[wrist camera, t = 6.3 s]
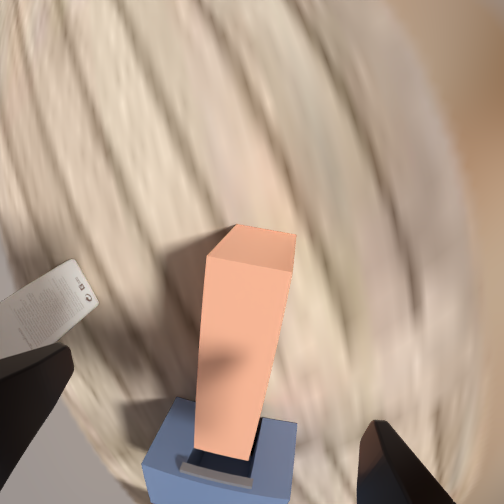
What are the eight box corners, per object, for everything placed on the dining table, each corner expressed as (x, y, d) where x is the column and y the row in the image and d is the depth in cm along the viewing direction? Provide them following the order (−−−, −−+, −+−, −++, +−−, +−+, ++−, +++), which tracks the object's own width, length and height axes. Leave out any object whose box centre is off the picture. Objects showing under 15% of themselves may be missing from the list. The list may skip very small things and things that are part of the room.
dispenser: (279, 466, 25) (270, 531, 18) (177, 443, 26) (150, 502, 19) (298, 420, 22) (291, 497, 15) (176, 393, 23) (140, 461, 16)
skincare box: (74, 254, 21) (-51, 326, 10) (103, 305, 22) (-5, 400, 11) (37, 283, 23) (-64, 349, 11) (63, 327, 24) (-28, 406, 12)
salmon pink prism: (261, 400, 22) (248, 460, 17) (216, 390, 23) (193, 447, 17) (296, 234, 18) (292, 272, 12) (236, 224, 18) (206, 255, 13)
